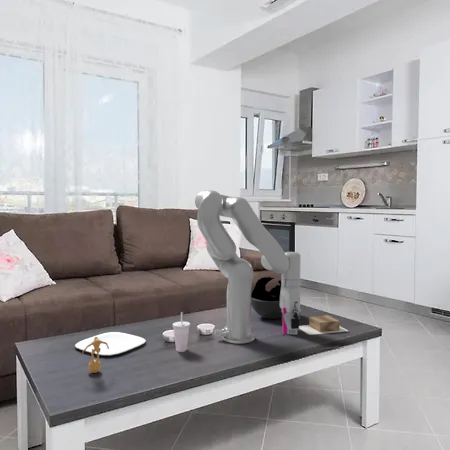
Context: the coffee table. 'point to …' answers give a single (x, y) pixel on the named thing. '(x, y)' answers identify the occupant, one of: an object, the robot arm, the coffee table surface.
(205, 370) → the coffee table surface
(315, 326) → the walnut block
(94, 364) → the figurine
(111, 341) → the plate
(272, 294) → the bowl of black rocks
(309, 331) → the board
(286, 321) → the supplement box
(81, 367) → the coffee table surface
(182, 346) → the smoothie
